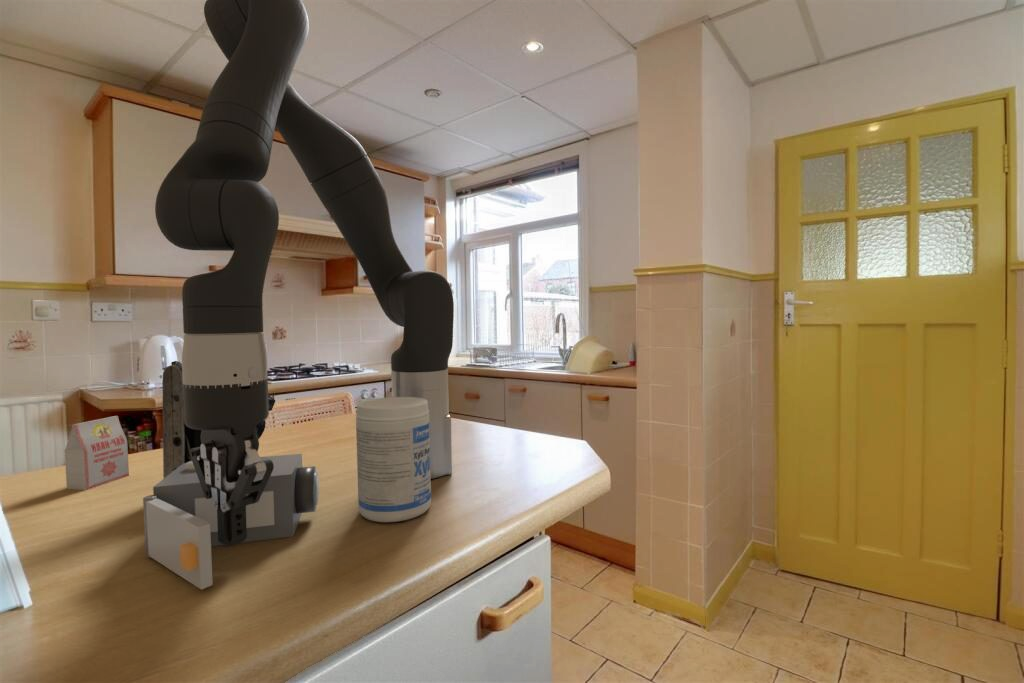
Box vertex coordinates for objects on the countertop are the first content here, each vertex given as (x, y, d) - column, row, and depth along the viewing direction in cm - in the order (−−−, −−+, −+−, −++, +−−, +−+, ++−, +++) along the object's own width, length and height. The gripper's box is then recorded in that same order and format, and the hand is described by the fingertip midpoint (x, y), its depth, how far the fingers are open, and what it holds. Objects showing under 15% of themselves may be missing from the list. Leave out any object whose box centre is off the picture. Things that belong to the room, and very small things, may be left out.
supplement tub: (433, 521, 62) (431, 406, 61) (355, 529, 60) (352, 410, 59) (429, 494, 71) (427, 394, 70) (361, 500, 69) (358, 397, 68)
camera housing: (321, 505, 67) (319, 446, 66) (313, 534, 58) (311, 466, 58) (186, 520, 62) (183, 457, 62) (155, 554, 54) (152, 480, 53)
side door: (213, 586, 47) (211, 520, 46) (191, 595, 45) (188, 528, 45) (156, 550, 54) (154, 494, 53) (136, 558, 52) (133, 499, 52)
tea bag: (66, 488, 75) (63, 424, 74) (110, 474, 81) (107, 415, 81) (86, 490, 74) (82, 425, 74) (129, 475, 81) (125, 416, 80)
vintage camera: (253, 510, 67) (255, 366, 66) (159, 498, 70) (160, 360, 69) (298, 487, 76) (299, 361, 75) (213, 477, 79) (214, 356, 79)
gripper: (157, 377, 50) (164, 540, 51) (219, 386, 43) (226, 577, 44) (232, 370, 57) (237, 515, 58) (297, 377, 49) (302, 544, 50)
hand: (232, 542), depth 51 cm, fingers closed
